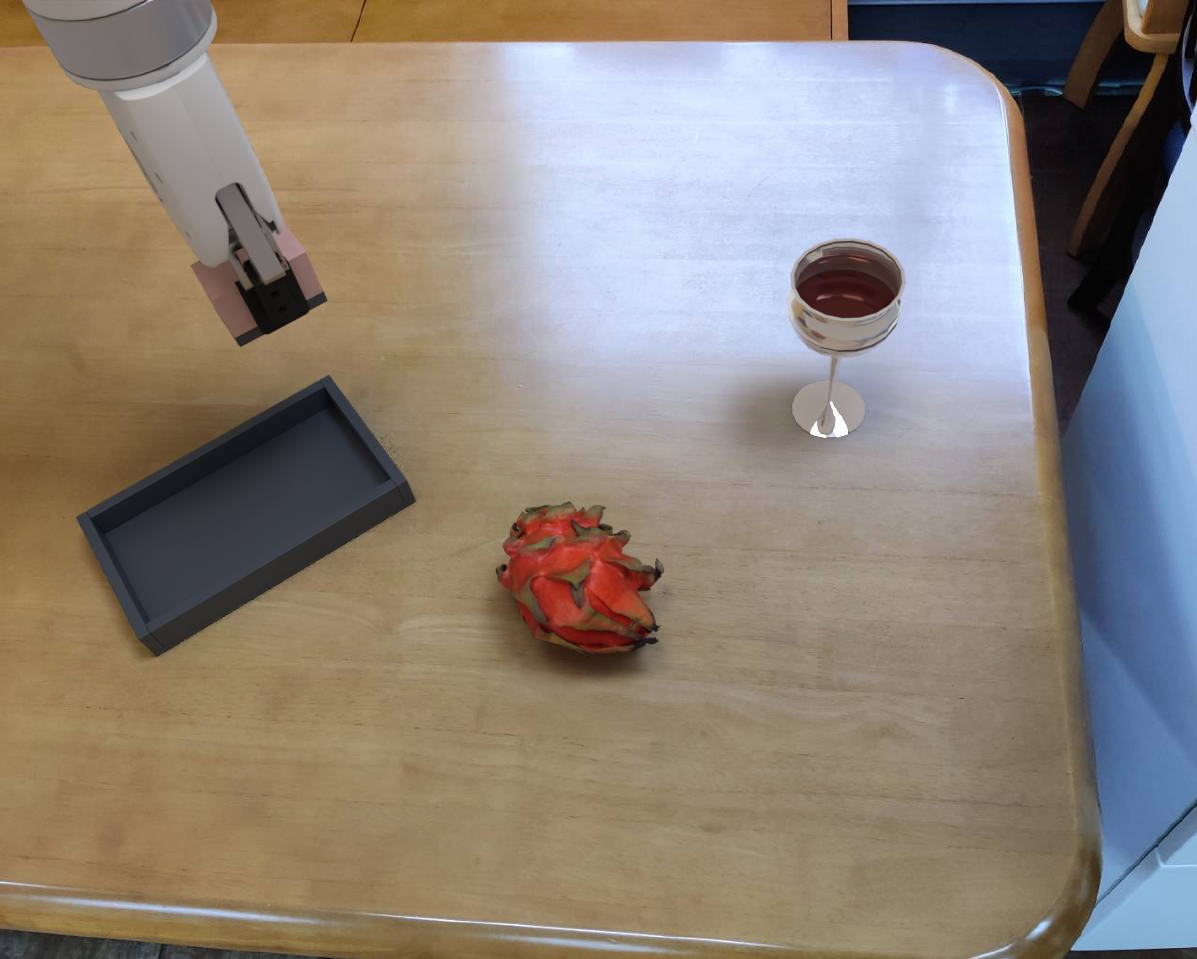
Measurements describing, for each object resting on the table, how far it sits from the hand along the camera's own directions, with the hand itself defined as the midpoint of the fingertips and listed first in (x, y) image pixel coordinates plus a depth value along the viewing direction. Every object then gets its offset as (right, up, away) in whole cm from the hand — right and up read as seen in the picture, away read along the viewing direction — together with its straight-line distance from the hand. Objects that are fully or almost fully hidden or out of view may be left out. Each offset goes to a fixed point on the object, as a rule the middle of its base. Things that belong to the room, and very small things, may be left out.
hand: (270, 298), depth 64 cm
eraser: (0, 0, +1) cm, 1 cm away
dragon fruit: (+19, -19, +3) cm, 27 cm away
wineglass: (+36, -5, +9) cm, 37 cm away
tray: (-4, -13, +9) cm, 16 cm away
